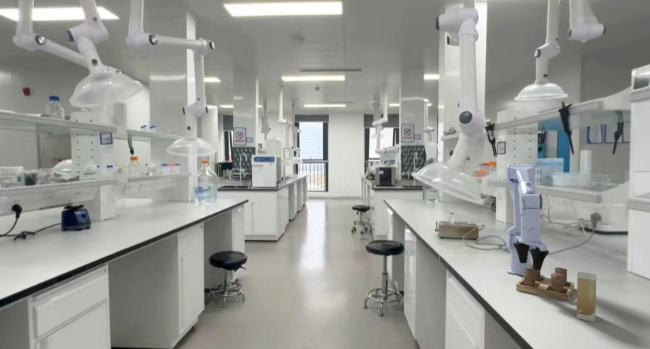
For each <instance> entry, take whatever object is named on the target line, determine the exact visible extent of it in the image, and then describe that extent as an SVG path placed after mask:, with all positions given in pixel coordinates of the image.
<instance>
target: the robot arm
mask: <svg viewBox="0 0 650 349" xmlns="http://www.w3.org/2000/svg"><path fill="white" fill-rule="evenodd" d="M535 177H536V169H535V165H534V164H533V163H530V164H510V163H508V164H507V165H506V167H505V178H506V185H507V186H509V187H511V190H512V202H513V226H512V227H510V228H508V229H507V231H506V248H507V249H508V250H510V266H509V267H510V268H509V269H508V270H507V272H506V273H508V274H512V275H518V276H523V277H524V269H529V264H531V263H533V268H534V270H540V271H541V270H542V267H543V264H544V261H545V259H546V257H547V256H548V254H550V250H548V244H546V243H544V242H542V241H541V211H543V210H542V209H543V205H544V200H543V196H542V193H541V192H538V190H537V186H536V184H535V183H534V178H535Z"/></svg>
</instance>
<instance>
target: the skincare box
mask: <svg viewBox="0 0 650 349" xmlns="http://www.w3.org/2000/svg"><path fill="white" fill-rule="evenodd" d="M576 276H577V278H576V279H577V281H576V283H577V284H576V285H577V286H576V318H577V319H579V320H582V321H587V322H590V323H591V322H593V323H596V320H597V318H596V317H597V316H596V315H597V314H596V313H597V312H596V310H597V306H596V305H597V274H596V273H589V272H584V271H578V272H577V275H576Z"/></svg>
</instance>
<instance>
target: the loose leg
mask: <svg viewBox="0 0 650 349" xmlns="http://www.w3.org/2000/svg"><path fill="white" fill-rule="evenodd" d="M535 274H536V271H535V270H533V269H524V276H523V277H524V285H525V286H530V287H534V288H535Z"/></svg>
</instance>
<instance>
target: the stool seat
mask: <svg viewBox="0 0 650 349" xmlns="http://www.w3.org/2000/svg"><path fill="white" fill-rule="evenodd" d="M529 269H533V270H534V268H533V262H532V263H531V264H529ZM535 271H536V274H535V288H534V287H530V286H525V285H524V276H523V277H522V278H521V279H520V280H519V281H517V283H515V290H516V291H519V292H523V293H529V294H534V295H536V296H537V295H538V296H542V297H545V298H546V297H547V298H552V299H556V300H562V301H565V302H569V300H570V299H571V296H572V294H573V291H574V289H575V282H572V281H568V269H566V268H563V267H555V268H554V272H551V273H550V277H546V276H542V275H541V270H535Z"/></svg>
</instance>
